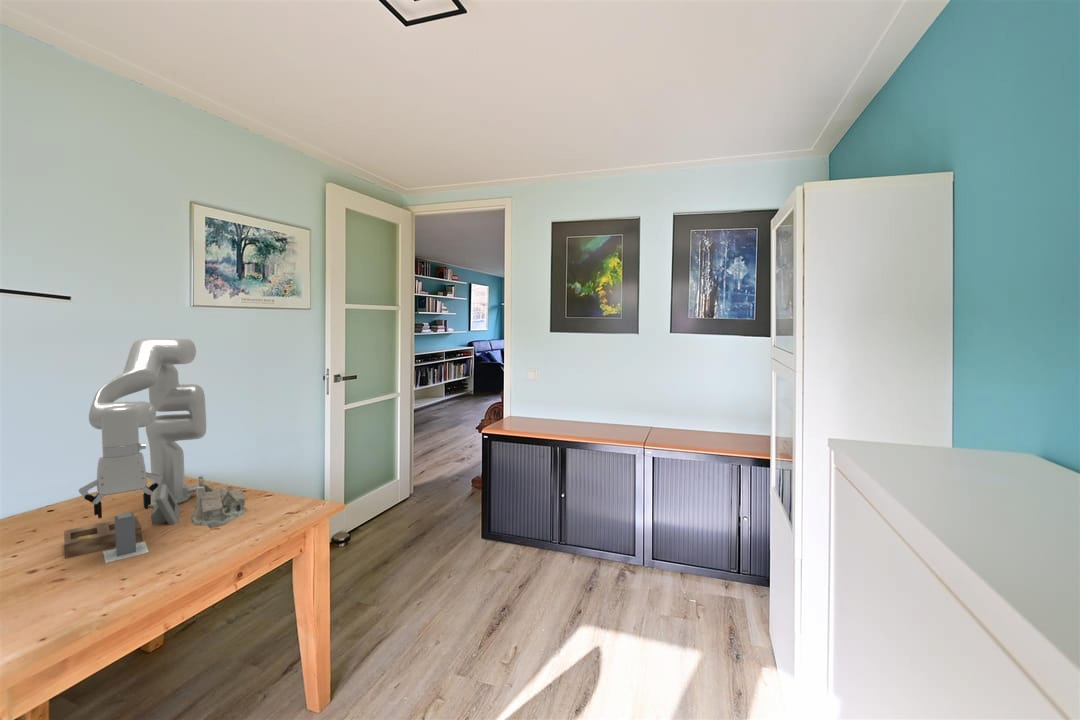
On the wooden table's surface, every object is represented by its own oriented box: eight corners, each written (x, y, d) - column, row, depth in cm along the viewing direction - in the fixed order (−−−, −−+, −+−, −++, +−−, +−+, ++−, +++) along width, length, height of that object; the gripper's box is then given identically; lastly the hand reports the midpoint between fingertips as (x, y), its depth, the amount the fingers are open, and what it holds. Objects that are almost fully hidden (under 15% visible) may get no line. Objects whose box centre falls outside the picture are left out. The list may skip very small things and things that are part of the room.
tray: (145, 545, 139) (144, 541, 139) (149, 556, 133) (148, 552, 133) (103, 555, 133) (103, 551, 133) (105, 567, 127) (105, 562, 127)
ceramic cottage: (188, 532, 148) (190, 483, 148) (191, 516, 162) (193, 472, 162) (246, 524, 157) (249, 479, 157) (245, 510, 171) (247, 468, 171)
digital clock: (177, 528, 151) (176, 495, 151) (141, 533, 148) (140, 499, 147) (190, 510, 166) (189, 480, 165) (158, 514, 162) (156, 483, 162)
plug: (134, 547, 136) (133, 511, 135) (136, 551, 133) (134, 515, 132) (115, 551, 133) (114, 515, 132) (117, 556, 130) (115, 519, 129)
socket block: (137, 531, 149) (136, 514, 148) (142, 544, 140) (141, 526, 140) (65, 547, 137) (64, 529, 137) (65, 562, 129) (64, 543, 128)
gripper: (159, 443, 140) (161, 501, 141) (76, 453, 127) (79, 517, 128) (163, 448, 134) (165, 508, 135) (77, 459, 122) (80, 524, 123)
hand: (123, 512), depth 132 cm, fingers open, 9 cm apart
